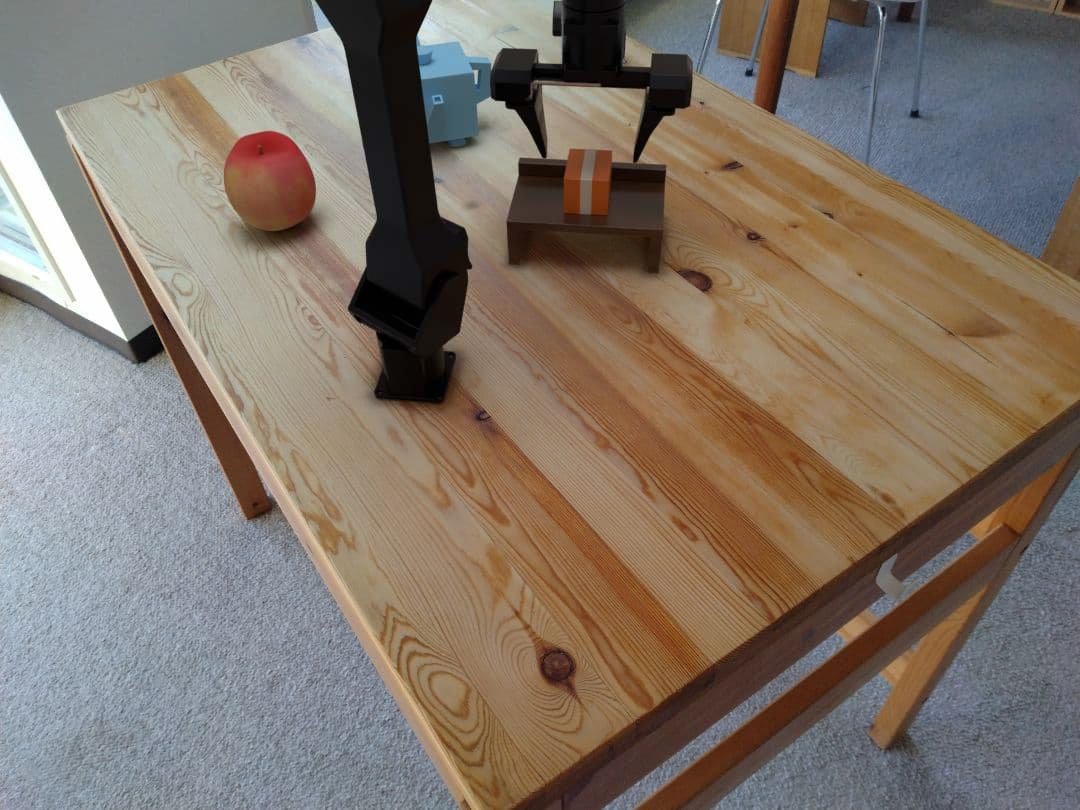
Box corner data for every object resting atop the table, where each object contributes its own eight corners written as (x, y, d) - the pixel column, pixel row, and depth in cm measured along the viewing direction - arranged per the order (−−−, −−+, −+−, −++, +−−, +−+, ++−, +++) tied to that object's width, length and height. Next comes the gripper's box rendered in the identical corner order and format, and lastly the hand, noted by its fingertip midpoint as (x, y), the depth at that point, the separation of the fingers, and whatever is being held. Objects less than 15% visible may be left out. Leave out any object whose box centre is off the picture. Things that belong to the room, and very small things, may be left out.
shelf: (658, 273, 89) (664, 217, 84) (508, 264, 91) (505, 208, 86) (661, 219, 96) (666, 164, 91) (521, 211, 98) (519, 157, 93)
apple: (239, 207, 99) (213, 128, 92) (320, 194, 101) (302, 116, 94) (239, 254, 93) (212, 174, 86) (327, 240, 94) (307, 160, 87)
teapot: (383, 177, 103) (367, 88, 95) (364, 109, 115) (349, 25, 107) (508, 157, 106) (504, 69, 98) (477, 92, 118) (471, 9, 110)
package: (607, 215, 87) (608, 181, 84) (563, 213, 88) (563, 178, 85) (610, 183, 91) (612, 149, 88) (569, 181, 92) (569, 148, 89)
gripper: (700, -32, 79) (682, 123, 91) (503, -37, 81) (510, 115, 93) (700, 17, 72) (681, 179, 83) (484, 11, 74) (494, 170, 85)
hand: (589, 158), depth 86 cm, fingers open, 9 cm apart
